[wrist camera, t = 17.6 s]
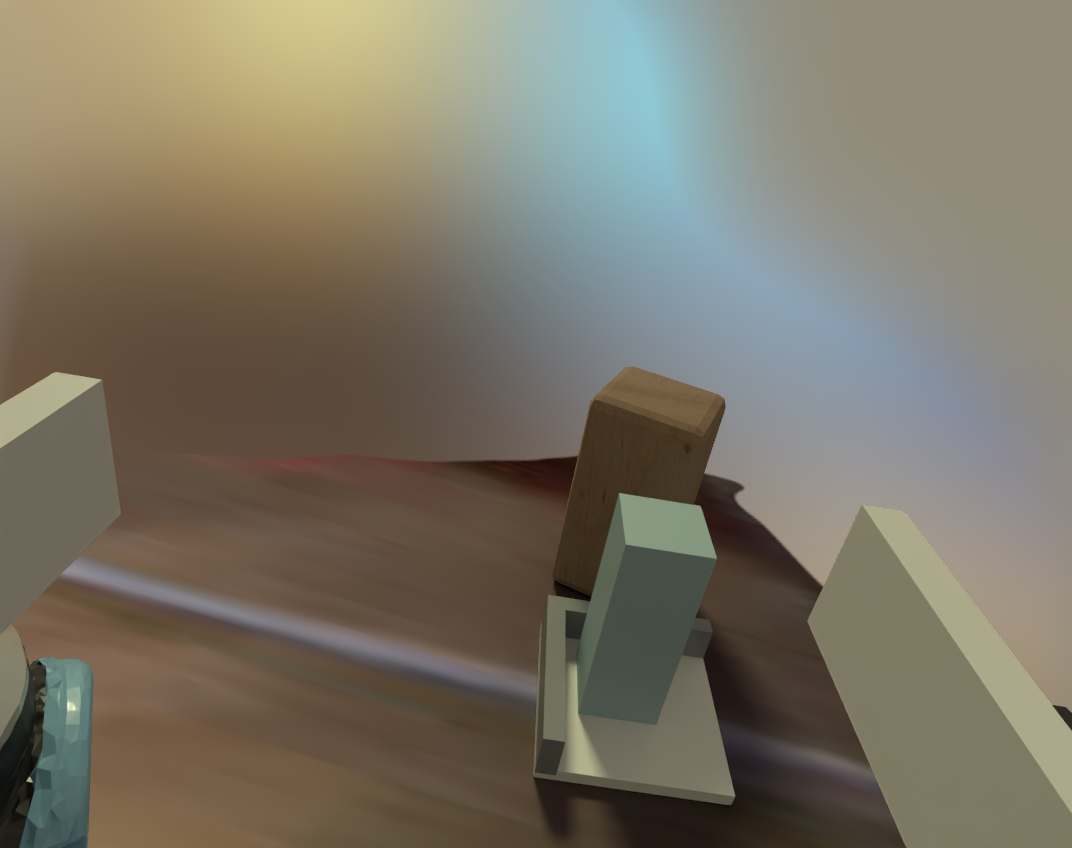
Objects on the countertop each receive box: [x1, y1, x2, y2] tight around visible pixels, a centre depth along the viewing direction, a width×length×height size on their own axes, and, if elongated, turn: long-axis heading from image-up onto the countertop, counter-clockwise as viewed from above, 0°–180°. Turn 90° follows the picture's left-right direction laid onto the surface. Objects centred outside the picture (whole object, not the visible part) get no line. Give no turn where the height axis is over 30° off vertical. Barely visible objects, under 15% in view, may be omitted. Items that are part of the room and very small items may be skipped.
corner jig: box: [533, 595, 735, 805], centre depth 53 cm, size 14×14×4 cm
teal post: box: [577, 493, 717, 725], centre depth 50 cm, size 6×6×16 cm
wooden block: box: [553, 367, 725, 597], centre depth 63 cm, size 10×10×20 cm
